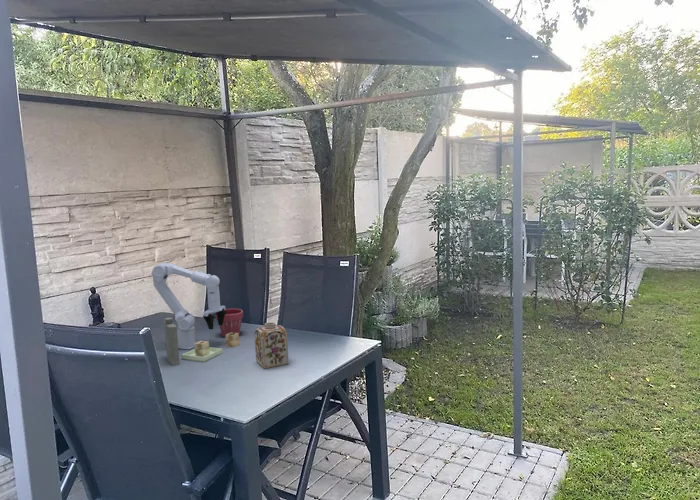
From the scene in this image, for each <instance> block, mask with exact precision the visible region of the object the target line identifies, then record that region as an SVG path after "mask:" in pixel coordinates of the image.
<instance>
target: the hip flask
mask: <svg viewBox="0 0 700 500" xmlns="http://www.w3.org/2000/svg"><path fill="white" fill-rule="evenodd" d="M163 319H164V321H163V323H164V324H163V325H164V333H165V334H164V335H165V344H166V359H167V361H168V363H169V364H170V365H172V366H179V365H180V351H179V349H180V348H178V336H177V329H178V325H176V324H175V323H173V320H174V318H173V317H165V318H163Z"/></svg>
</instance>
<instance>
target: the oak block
mask: <svg viewBox="0 0 700 500" xmlns="http://www.w3.org/2000/svg"><path fill="white" fill-rule="evenodd" d="M225 345H226V348H236V347H238V346H240V333H232V332H231V333H229V334H227V335H226V337H225Z"/></svg>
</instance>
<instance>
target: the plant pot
mask: <svg viewBox="0 0 700 500" xmlns="http://www.w3.org/2000/svg"><path fill="white" fill-rule="evenodd" d="M225 310H226V314H225V317H224V321H223V325H219V324H218V326H219V330H220V332H221V335H222V337H223V338H226V335H227V334H229V333H231V332H232V333H239V334H240V333H241V326H242V319H243V318H244V311H243V309H240V308H225ZM215 320H216V321H218V318H217V315H216V314H215Z"/></svg>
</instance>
